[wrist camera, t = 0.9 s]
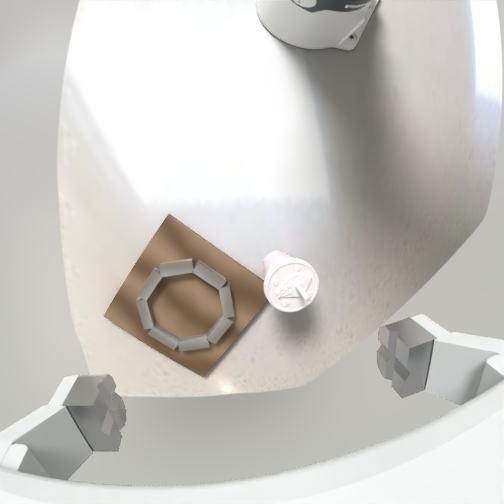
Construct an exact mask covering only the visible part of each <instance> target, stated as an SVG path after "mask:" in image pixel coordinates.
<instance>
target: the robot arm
mask: <svg viewBox="0 0 504 504" xmlns="http://www.w3.org/2000/svg"><path fill="white" fill-rule="evenodd" d="M378 1H379V0H256V10H257V14H258V16H259V18H260V20H261V22H262V23H263V25H264V26H265V27H266V28H267V29H268V30H269V31H270V32H271V33H272V34H273V35H274V36H276V37H277V38H279V39H280V40H282V41H284V42H286V43H288V44H291V45H293V46H297V47H301V48H306V49H322V48H329V47H335V48H338V49H343V50H352V49H353V48H354V47H355V46H356V45H357V43H358V41H359V39H360V37H361V35H362V33H363V31H364V29H365V27H366V25H367V23H368V21H369V19H370V17H371V15H372V13H373V11H374V9H375V7H376V5H377V3H378ZM349 36H351V37H352V39H351V38H350V37H349ZM378 340H379V341H380V342H381V346H380V348H379V349H378V351H377V363H378V368H379V370H380V372H381V374H382V375H383V376H384V378H386V379H389V380H392V387H393V388H394V390H395V391H396V392H397V393H398V394H399V395H400V397H401V398H404V397H407V396H410V395H412V394H415V393H418V392H420V391H423V390H425V391H427V392H429V393H432V394H434V395H437V396H439V397H441V398H444V399H446V400H449V401H451V402H453V403H456V404H459V405H461V406H459V407H457V408H455V409H453V410H452V411H450V412H448V413H446V414H444V415H442V416H440V417H438V418H436V419H434V420H432V421H430V422H428V423H425V424H423V425H421V426H419V427H417V428H415V429H412V430H410V431H408V432H405V433H403V434H400V435H398V436H396V437H393V438H391V439H388V440H386V441H383V442H380V443H378V444H375V445H372V446H369V447H367V448H364V449H361V450H358V451H355V452H352V453H349V454H346V455H343V456H339V457H336V458H332V459H329V460H325V461H322V462H318V463H314V464H311V465H307V466H303V467H299V468H295V469H290V470H286V471H281V472H276V473H272V474H266V475H260V476H255V477H249V478H242V479H235V480H228V481H220V482H210V483H199V484H185V485H162V486H132V485H108V484H95V483H85V482H75V481H68V479H69V478H70V477H71V476H72V474H73V473H74V472H75V471H76V470H77V469H78V468H79V467H80V466H81V465H82V464H83V463H84V462H85V461H86V460H87V459H88V458H89V457H90V456H91V455H92V454H93V451H101V452H102V451H103V452H109V451H118V450H119V446H120V442H121V438H122V435H121V433H120V431H119V430H120V429H122V427H124V426H125V422H126V409H125V405H124V402H123V400H122V398H121V397H120V396H119V395H118V394H117V393H115V392H114V391H115V388H116V384H115V382H114V380H113V378H112V376H110V375H109V374H102V375H73V376H72V375H70V376H66V377H64V379H63V381H62V382H61V384H60V385H59V387H58V389H57V390H56V392H55V394H54V395H53V397H52V399H51V400H50V402H49V404H48V406H47V405H44V406H42V407H40V408H39V409H37V410H36V411H34V412H33V413H31V414H29V415H27V416H26V417H24V418H23V419H21V420H19V421H18V422H16V423H15V424H13V425H11V426H10V427H8V428H6V429H5V430H3V431H2V432H0V504H504V340H500V339H493V338H487V337H481V336H474V335H469V334H463V333H458V332H452V333H449V332H448V331H447V330H445V329H444V328H442V327H441V326H439V325H438V324H437V323H435V322H434V321H432V320H431V319H429V318H428V317H427V316H425V315H424V314H418V315H414V316H412V317H409V318H407V319H404V320H401V321H398V322H394V323H392V324H389V325H385V326H382V327H380V329H379V332H378Z"/></svg>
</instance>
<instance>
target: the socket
mask: <svg viewBox="0 0 504 504" xmlns="http://www.w3.org/2000/svg"><path fill="white" fill-rule="evenodd" d="M267 300H268V299H267V298H266V296H265V293H264V280H262V279H261V278H259V277H258V276H256V275H255V274H254V273H252V272H251V271H249V270H248V269H246V268H245V267H244V266H242V265H241V264H239V263H238V262H236V261H235V260H234V259H232V258H231V257H229V256H228V255H226V254H225V253H224V252H222V251H221V250H219V249H218V248H216V247H215V246H214V245H212V244H211V243H209V242H208V241H207V240H205V239H204V238H202V237H201V236H200V235H198V234H197V233H195V232H194V231H192V230H191V229H190V228H188V227H187V226H185V225H184V224H183V223H181V222H180V221H178V220H177V219H176V218H174V217H173V216H171V215H170V214H169V215H168V216H167V217H166V219H165V220H164V222H163V223H162V225H161V226H160V227H159V229H158V230H157V232H156V233H155V235H154V236H153V238H152V239H151V241H150V242H149V244H148V245H147V247H146V248H145V250H144V251H143V253H142V254H141V256H140V258H139V259H138V261H137V262H136V264H135V265H134V267H133V268H132V270H131V272H130V273H129V275H128V276H127V278H126V280H125V281H124V283H123V284H122V286H121V288H120V289H119V291H118V293H117V294H116V296H115V298H114V299H113V301H112V303H111V304H110V306H109V308H108V309H107V311H106V313H105V314H104V317H106V318H107V319H109V320H110V321H112V322H113V323H115V324H116V325H118V326H119V327H121V328H122V329H124V330H125V331H127V332H128V333H130V334H131V335H133V336H135V337H136V338H138V339H139V340H141V341H142V342H144V343H146V344H147V345H149V346H151V347H152V348H154V349H155V350H157V351H159V352H160V353H162V354H164V355H165V356H167V357H169V358H171V359H172V360H174V361H176V362H178V363H179V364H181V365H183V366H185V367H186V368H188V369H190V370H192V371H194V372H195V373H197V374H199V375H201V376H203V377H204V376H205V374H206V373H207V372H208V371H209V370H210V369H211V367H212V366H213V365H214V364H215V363H216V362H217V360H218V359H219V358H220V357H221V356H222V355H223V353H224V352H225V351H226V350H227V349H228V347H229V346H230V345H231V344H232V343H233V341H234V340H235V339H236V338H237V337H238V335H239V334H240V333H241V332H242V331H243V329H244V328H245V327H246V326H247V325H248V323H249V322H250V321H251V320H252V319H253V317H254V316H255V315H256V314H257V312H258V311H259V310H260V309H261V308H262V306H263V305H264V304H265V303H266V301H267Z"/></svg>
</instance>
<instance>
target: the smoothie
mask: <svg viewBox="0 0 504 504" xmlns="http://www.w3.org/2000/svg"><path fill="white" fill-rule="evenodd" d="M263 268H264V275H265V280H264V293H265V296H266V298H267V299H268V301H269V302H270V304H271V305H272V306H273V307H274V308H276V309H278V310H280V311H283V312H296V311H300V310H302V309H304V308H306V307H307V306H308V305H309V304H310V303H311V302H312V301H313V300H314V299H315V297H316V295H317V292H318V288H319V279H318V276H317V273H316V272H315V270H314V269H313V267H312V266H311V265H310V264H309V263H307V262H306V261H304V260H301V259H297V258H293V257H291V256H289V255H287V254H285V253H283V252H281V251H272V252H270V253H269V254H267V255H266V257H265V258H264V261H263Z"/></svg>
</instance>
